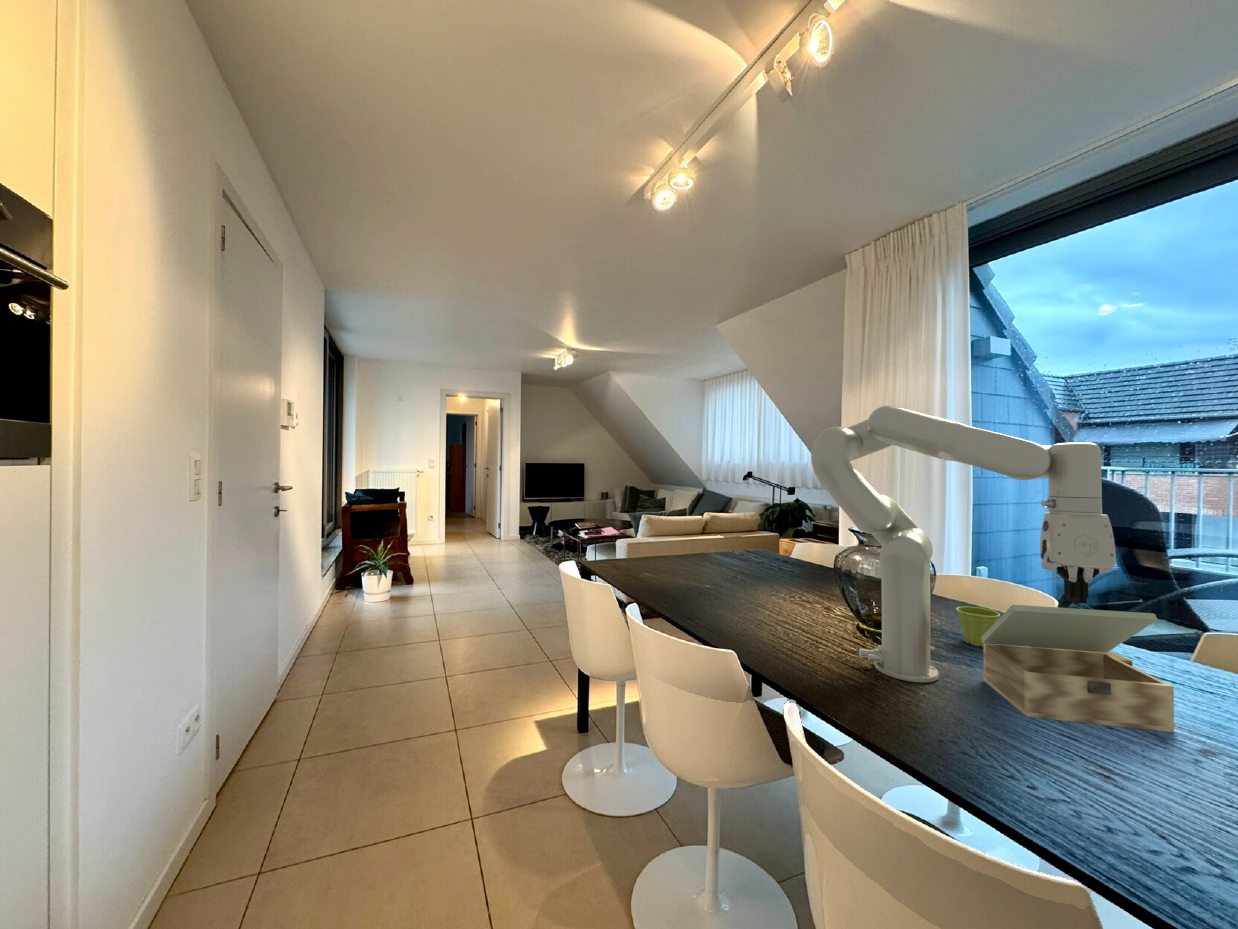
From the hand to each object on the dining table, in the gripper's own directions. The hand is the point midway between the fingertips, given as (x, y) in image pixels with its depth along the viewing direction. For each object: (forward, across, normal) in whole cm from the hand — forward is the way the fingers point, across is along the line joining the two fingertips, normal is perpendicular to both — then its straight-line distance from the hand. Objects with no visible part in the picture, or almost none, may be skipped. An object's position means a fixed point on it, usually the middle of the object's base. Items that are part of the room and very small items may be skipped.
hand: (1076, 601), depth 93 cm
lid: (+7, 0, +4) cm, 8 cm away
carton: (+21, +14, +23) cm, 34 cm away
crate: (+20, 0, +2) cm, 21 cm away
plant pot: (+21, -1, +36) cm, 42 cm away
